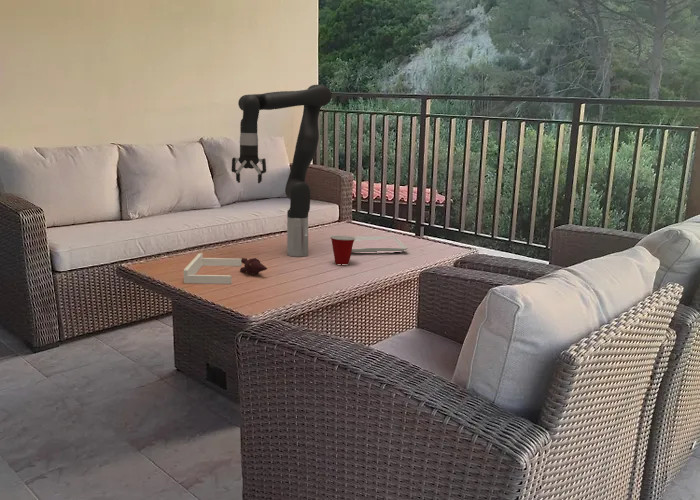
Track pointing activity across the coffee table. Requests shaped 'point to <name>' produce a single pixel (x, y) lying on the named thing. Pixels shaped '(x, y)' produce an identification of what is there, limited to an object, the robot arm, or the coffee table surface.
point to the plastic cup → (342, 248)
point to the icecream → (252, 266)
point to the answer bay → (200, 261)
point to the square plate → (359, 238)
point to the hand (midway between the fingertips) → (248, 182)
